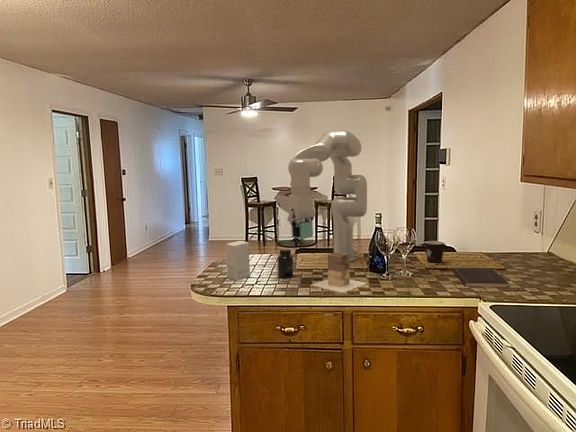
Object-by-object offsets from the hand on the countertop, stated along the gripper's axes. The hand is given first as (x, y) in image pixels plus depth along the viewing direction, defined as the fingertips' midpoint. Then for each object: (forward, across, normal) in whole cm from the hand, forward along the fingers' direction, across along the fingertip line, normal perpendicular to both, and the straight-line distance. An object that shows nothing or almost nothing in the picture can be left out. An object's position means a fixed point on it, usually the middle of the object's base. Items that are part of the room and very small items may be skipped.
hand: (302, 234), depth 178 cm
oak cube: (+19, -5, +14) cm, 25 cm away
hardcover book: (+22, -50, +52) cm, 75 cm away
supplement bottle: (+21, -2, -13) cm, 24 cm away
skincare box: (+20, +12, -28) cm, 36 cm away
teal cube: (+1, 0, 0) cm, 1 cm away
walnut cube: (+13, -5, +14) cm, 20 cm away
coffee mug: (+22, -65, +24) cm, 73 cm away
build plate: (+20, -5, +14) cm, 25 cm away
